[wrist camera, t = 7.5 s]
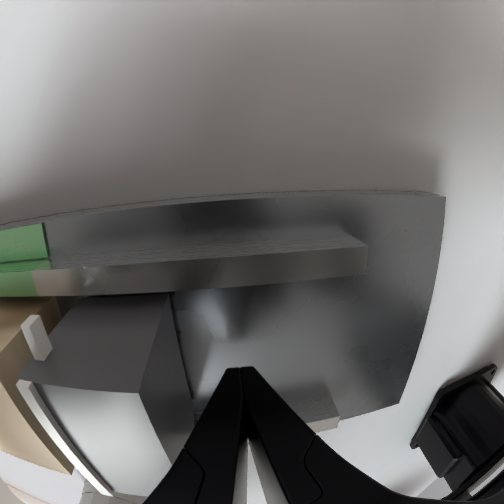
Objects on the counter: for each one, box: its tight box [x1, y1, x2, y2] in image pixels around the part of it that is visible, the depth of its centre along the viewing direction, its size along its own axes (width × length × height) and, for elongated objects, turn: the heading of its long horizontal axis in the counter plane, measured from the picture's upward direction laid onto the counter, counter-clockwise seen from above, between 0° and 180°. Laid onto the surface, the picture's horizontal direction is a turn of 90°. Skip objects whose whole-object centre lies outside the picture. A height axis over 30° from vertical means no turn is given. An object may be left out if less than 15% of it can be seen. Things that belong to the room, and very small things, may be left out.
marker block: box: [0, 296, 74, 475], centre depth 7 cm, size 4×5×4 cm
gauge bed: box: [0, 191, 446, 443], centre depth 9 cm, size 21×10×2 cm, turn 92°
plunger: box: [16, 294, 194, 497], centre depth 7 cm, size 3×6×4 cm, turn 3°
